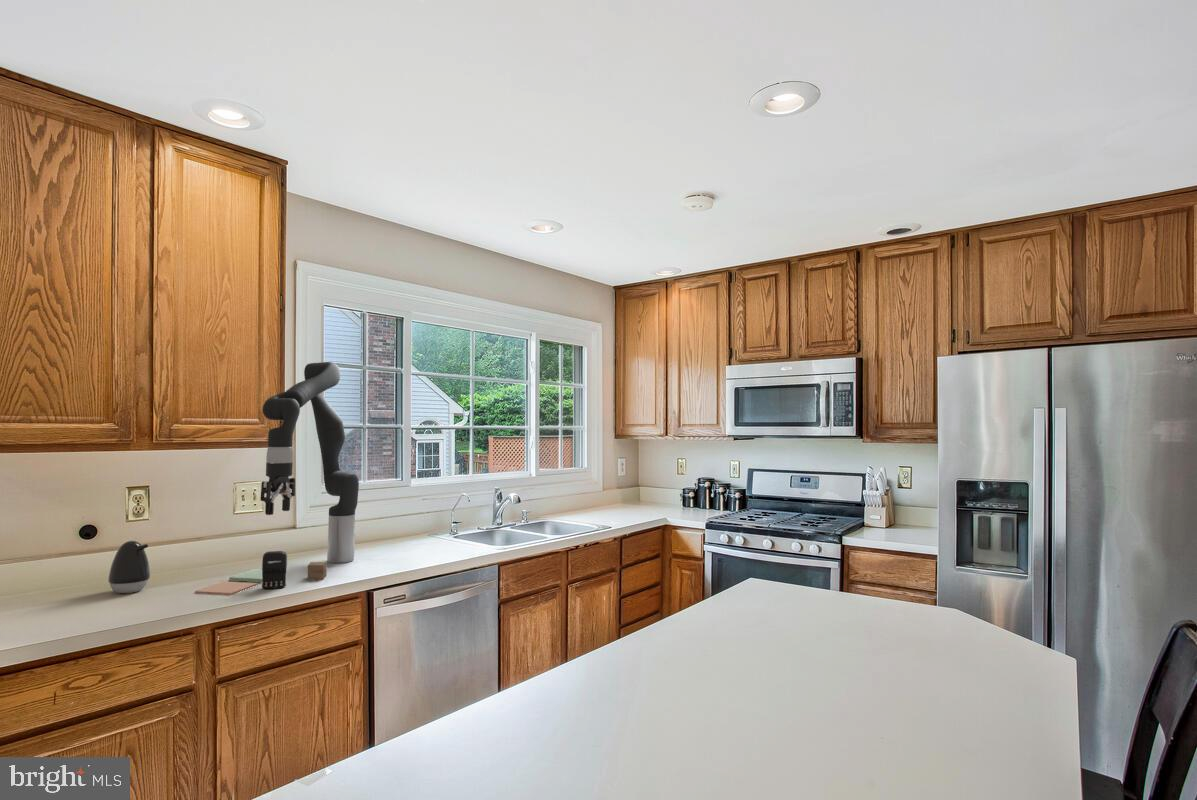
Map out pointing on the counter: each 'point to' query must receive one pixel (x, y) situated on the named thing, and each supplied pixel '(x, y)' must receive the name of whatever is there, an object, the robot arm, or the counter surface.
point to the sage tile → (248, 576)
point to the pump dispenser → (129, 568)
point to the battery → (274, 569)
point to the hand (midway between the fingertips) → (277, 512)
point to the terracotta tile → (226, 588)
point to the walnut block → (316, 570)
